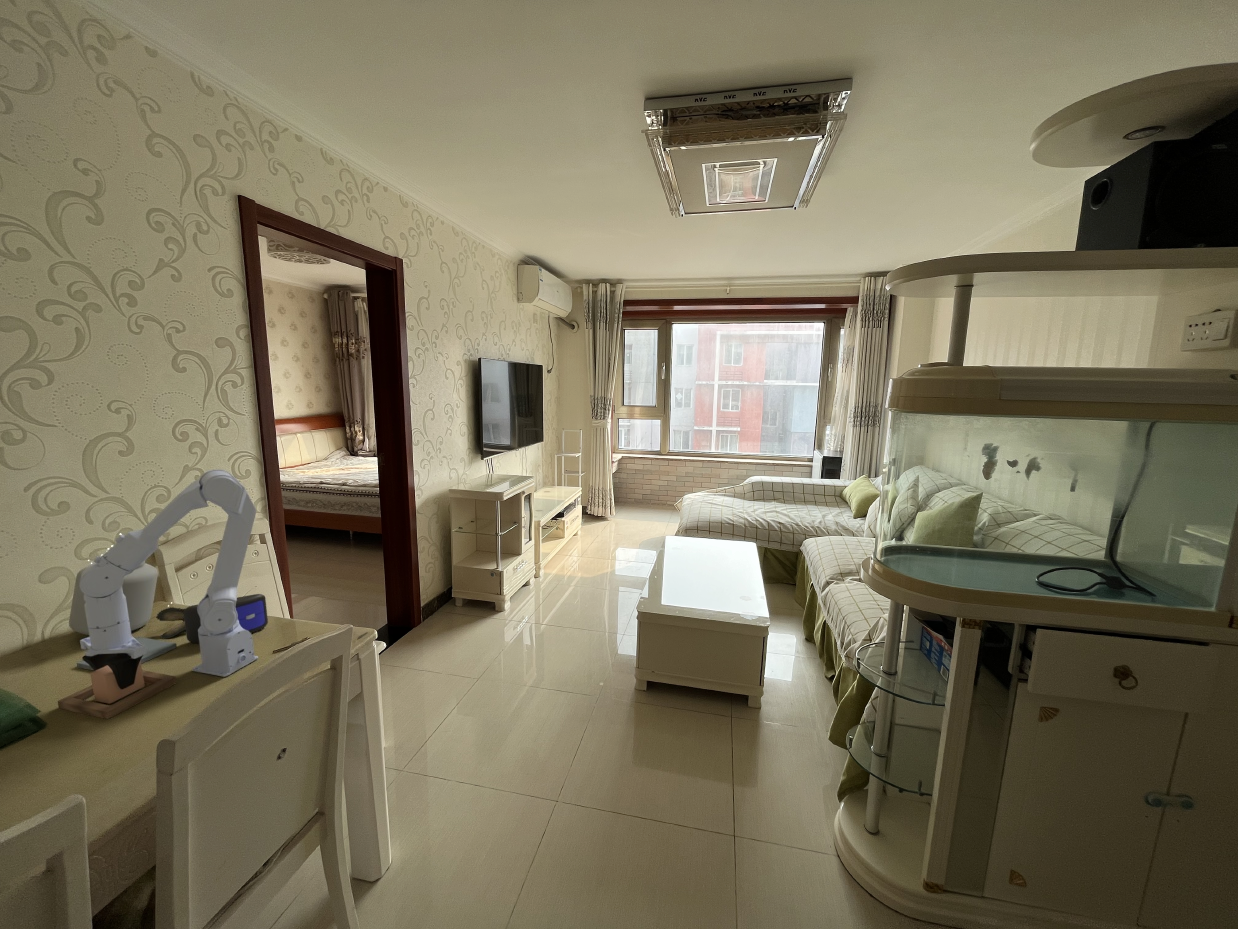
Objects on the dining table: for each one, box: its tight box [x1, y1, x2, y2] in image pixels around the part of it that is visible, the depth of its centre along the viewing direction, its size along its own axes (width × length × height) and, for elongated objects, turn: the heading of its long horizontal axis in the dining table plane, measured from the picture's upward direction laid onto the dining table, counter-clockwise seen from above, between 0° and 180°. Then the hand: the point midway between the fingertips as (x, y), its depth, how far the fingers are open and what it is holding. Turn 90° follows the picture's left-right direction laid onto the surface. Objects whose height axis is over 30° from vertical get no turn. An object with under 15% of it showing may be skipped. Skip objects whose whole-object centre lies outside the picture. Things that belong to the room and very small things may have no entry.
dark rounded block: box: [184, 593, 269, 644], centre depth 124 cm, size 16×5×9 cm, turn 123°
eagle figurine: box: [155, 606, 186, 640], centre depth 128 cm, size 8×7×9 cm
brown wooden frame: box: [57, 669, 178, 720], centre depth 101 cm, size 13×12×2 cm
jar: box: [68, 533, 173, 636], centre depth 127 cm, size 19×15×25 cm
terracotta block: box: [89, 660, 146, 705], centre depth 101 cm, size 4×6×6 cm, turn 166°
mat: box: [76, 636, 178, 671], centre depth 115 cm, size 12×12×1 cm
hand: (118, 684), depth 101 cm, fingers closed on terracotta block, 4 cm apart
